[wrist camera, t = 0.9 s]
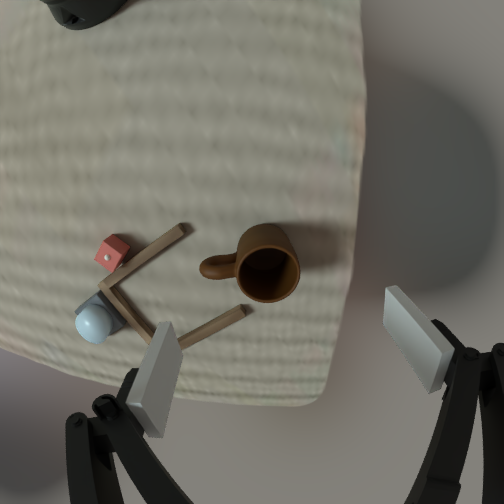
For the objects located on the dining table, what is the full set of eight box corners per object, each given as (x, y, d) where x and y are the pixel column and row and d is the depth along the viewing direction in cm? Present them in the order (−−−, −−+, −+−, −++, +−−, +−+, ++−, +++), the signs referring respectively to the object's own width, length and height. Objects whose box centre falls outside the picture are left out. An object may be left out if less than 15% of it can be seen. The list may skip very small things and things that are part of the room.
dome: (77, 313, 42) (69, 322, 40) (96, 298, 41) (88, 307, 39) (99, 338, 44) (92, 348, 41) (119, 325, 43) (113, 335, 40)
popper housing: (79, 306, 44) (74, 311, 42) (101, 288, 43) (96, 294, 41) (104, 334, 46) (99, 340, 45) (127, 320, 45) (123, 326, 43)
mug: (208, 273, 43) (199, 305, 34) (205, 223, 40) (193, 244, 31) (289, 271, 43) (299, 303, 34) (291, 222, 40) (303, 243, 31)
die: (103, 251, 41) (92, 260, 37) (112, 233, 40) (101, 242, 36) (121, 263, 42) (111, 274, 38) (130, 246, 41) (120, 256, 37)
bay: (101, 281, 43) (97, 285, 41) (179, 222, 40) (177, 225, 38) (164, 353, 48) (162, 359, 46) (245, 311, 45) (245, 316, 43)
